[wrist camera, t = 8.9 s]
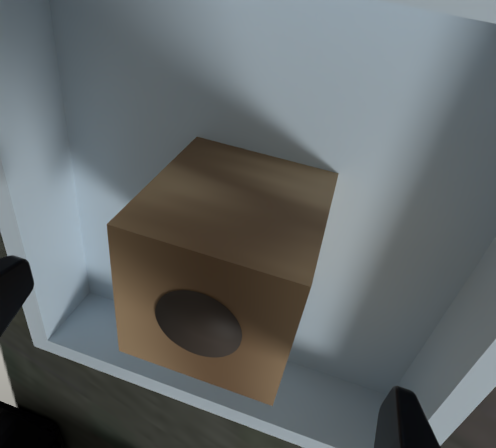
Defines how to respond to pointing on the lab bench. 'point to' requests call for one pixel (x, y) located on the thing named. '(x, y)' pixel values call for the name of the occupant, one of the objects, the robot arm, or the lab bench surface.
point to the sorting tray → (281, 146)
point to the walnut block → (219, 264)
